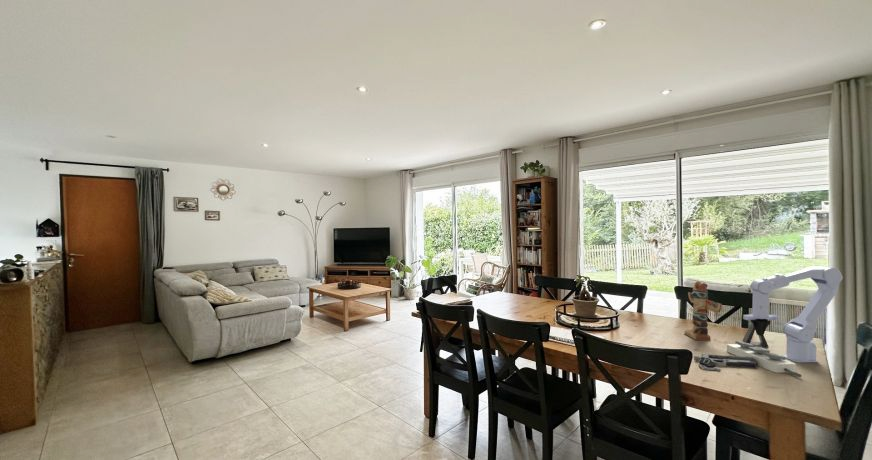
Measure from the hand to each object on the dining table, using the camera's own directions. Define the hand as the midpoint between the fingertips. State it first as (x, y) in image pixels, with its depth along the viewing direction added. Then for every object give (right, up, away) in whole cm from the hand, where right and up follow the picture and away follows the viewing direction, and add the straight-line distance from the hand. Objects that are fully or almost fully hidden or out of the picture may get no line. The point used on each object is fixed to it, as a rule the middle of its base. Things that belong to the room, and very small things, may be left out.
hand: (759, 335), depth 165 cm
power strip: (-4, -11, -7) cm, 13 cm away
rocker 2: (-4, -6, -4) cm, 8 cm away
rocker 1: (-4, -5, +3) cm, 8 cm away
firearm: (-22, -12, -8) cm, 26 cm away
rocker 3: (-4, -6, -11) cm, 13 cm away
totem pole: (-8, -10, +29) cm, 32 cm away
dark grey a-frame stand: (+14, -10, +18) cm, 24 cm away
